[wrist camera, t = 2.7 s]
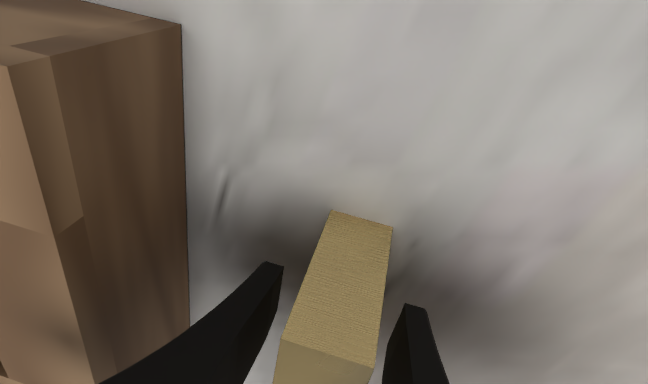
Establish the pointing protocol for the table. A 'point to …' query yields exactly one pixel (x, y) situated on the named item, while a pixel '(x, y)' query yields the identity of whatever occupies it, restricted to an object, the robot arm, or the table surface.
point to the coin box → (89, 191)
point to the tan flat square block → (337, 306)
